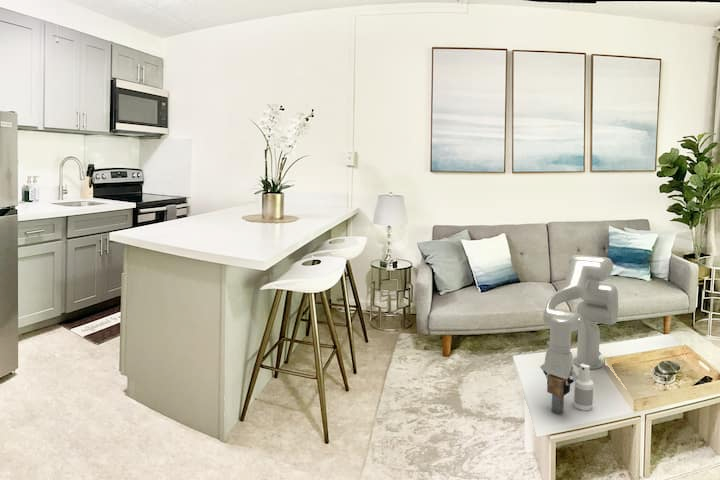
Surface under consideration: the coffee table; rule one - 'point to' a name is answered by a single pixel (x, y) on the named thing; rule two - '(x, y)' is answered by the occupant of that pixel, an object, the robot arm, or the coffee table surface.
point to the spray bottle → (583, 389)
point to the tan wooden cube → (555, 385)
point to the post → (557, 404)
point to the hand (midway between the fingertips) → (558, 389)
